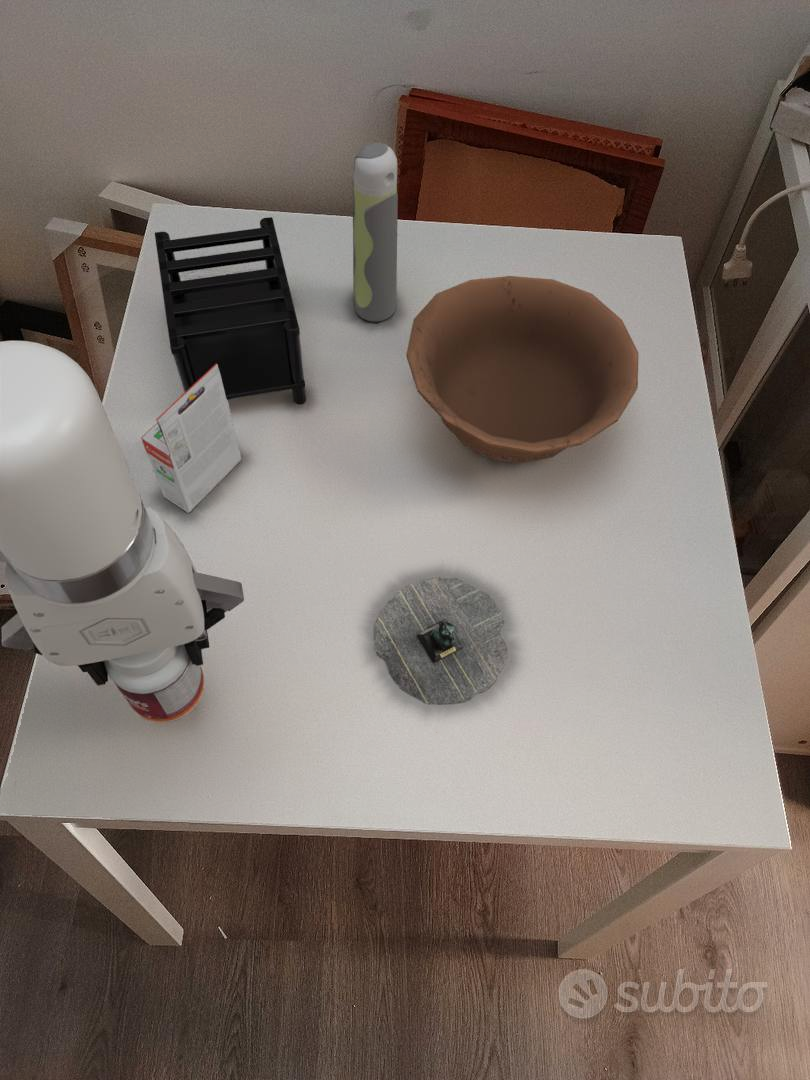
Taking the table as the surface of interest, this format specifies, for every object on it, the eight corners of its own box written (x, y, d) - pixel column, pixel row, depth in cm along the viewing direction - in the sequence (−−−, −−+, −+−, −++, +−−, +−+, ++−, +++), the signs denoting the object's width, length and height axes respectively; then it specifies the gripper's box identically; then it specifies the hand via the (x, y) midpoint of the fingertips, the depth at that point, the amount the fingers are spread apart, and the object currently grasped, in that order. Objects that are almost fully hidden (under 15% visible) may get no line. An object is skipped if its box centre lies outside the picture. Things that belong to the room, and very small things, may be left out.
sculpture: (470, 728, 71) (419, 679, 67) (401, 708, 78) (350, 661, 73) (531, 615, 76) (486, 561, 71) (460, 605, 82) (415, 555, 78)
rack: (193, 422, 86) (170, 349, 76) (176, 312, 93) (154, 232, 84) (307, 403, 87) (299, 329, 78) (282, 296, 95) (272, 216, 85)
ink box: (162, 497, 81) (123, 402, 68) (216, 444, 84) (188, 343, 72) (190, 516, 80) (156, 422, 67) (244, 461, 83) (220, 362, 71)
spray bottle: (372, 330, 93) (372, 173, 75) (345, 306, 94) (338, 147, 77) (404, 310, 94) (412, 152, 77) (377, 286, 96) (378, 127, 79)
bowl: (442, 323, 94) (450, 245, 84) (631, 378, 91) (662, 304, 81) (371, 472, 83) (371, 402, 74) (583, 541, 80) (611, 477, 71)
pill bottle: (112, 691, 67) (71, 636, 57) (170, 638, 69) (139, 576, 59) (165, 740, 65) (131, 692, 55) (221, 684, 68) (199, 628, 58)
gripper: (-90, 627, 42) (29, 730, 58) (247, 565, 45) (274, 679, 61) (-84, 506, 46) (26, 633, 62) (228, 455, 49) (258, 589, 64)
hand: (149, 655), depth 61 cm, fingers closed on pill bottle, 6 cm apart
